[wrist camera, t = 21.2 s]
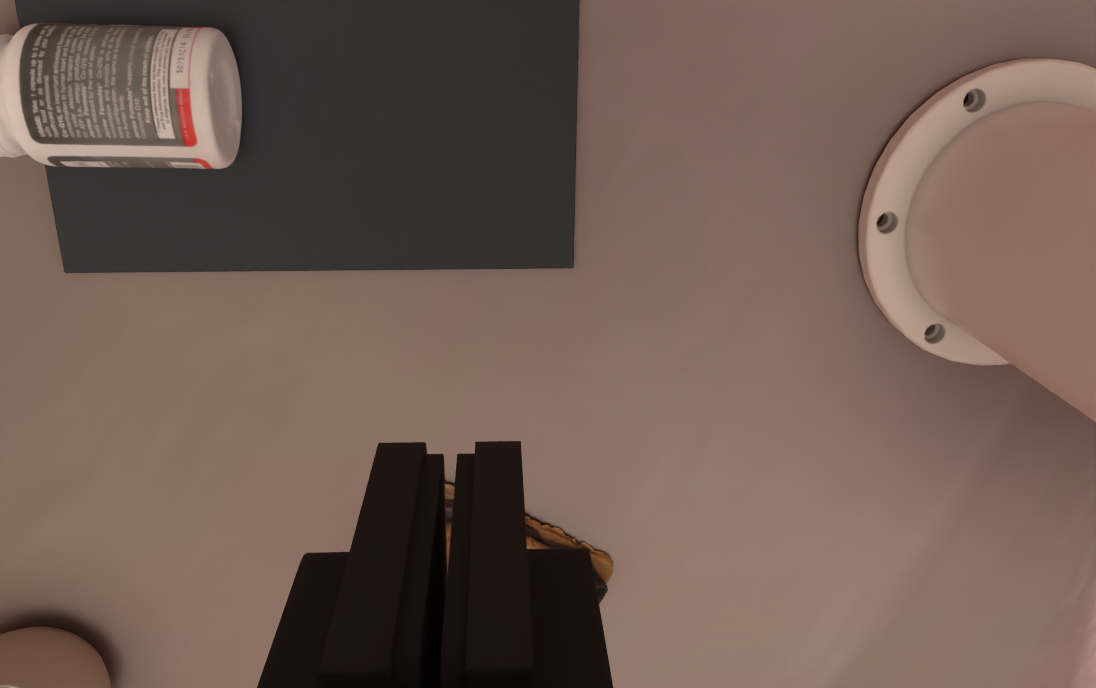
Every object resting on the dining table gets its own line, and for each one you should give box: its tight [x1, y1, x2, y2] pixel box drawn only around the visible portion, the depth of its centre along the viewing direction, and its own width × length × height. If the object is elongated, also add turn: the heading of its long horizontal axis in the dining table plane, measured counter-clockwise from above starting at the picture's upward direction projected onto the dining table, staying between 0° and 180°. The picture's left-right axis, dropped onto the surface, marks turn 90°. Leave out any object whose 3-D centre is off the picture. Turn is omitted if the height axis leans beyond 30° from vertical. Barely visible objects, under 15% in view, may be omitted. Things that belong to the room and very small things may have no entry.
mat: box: [15, 0, 579, 273], centre depth 34 cm, size 20×16×1 cm
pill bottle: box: [0, 23, 242, 169], centre depth 31 cm, size 5×5×8 cm
